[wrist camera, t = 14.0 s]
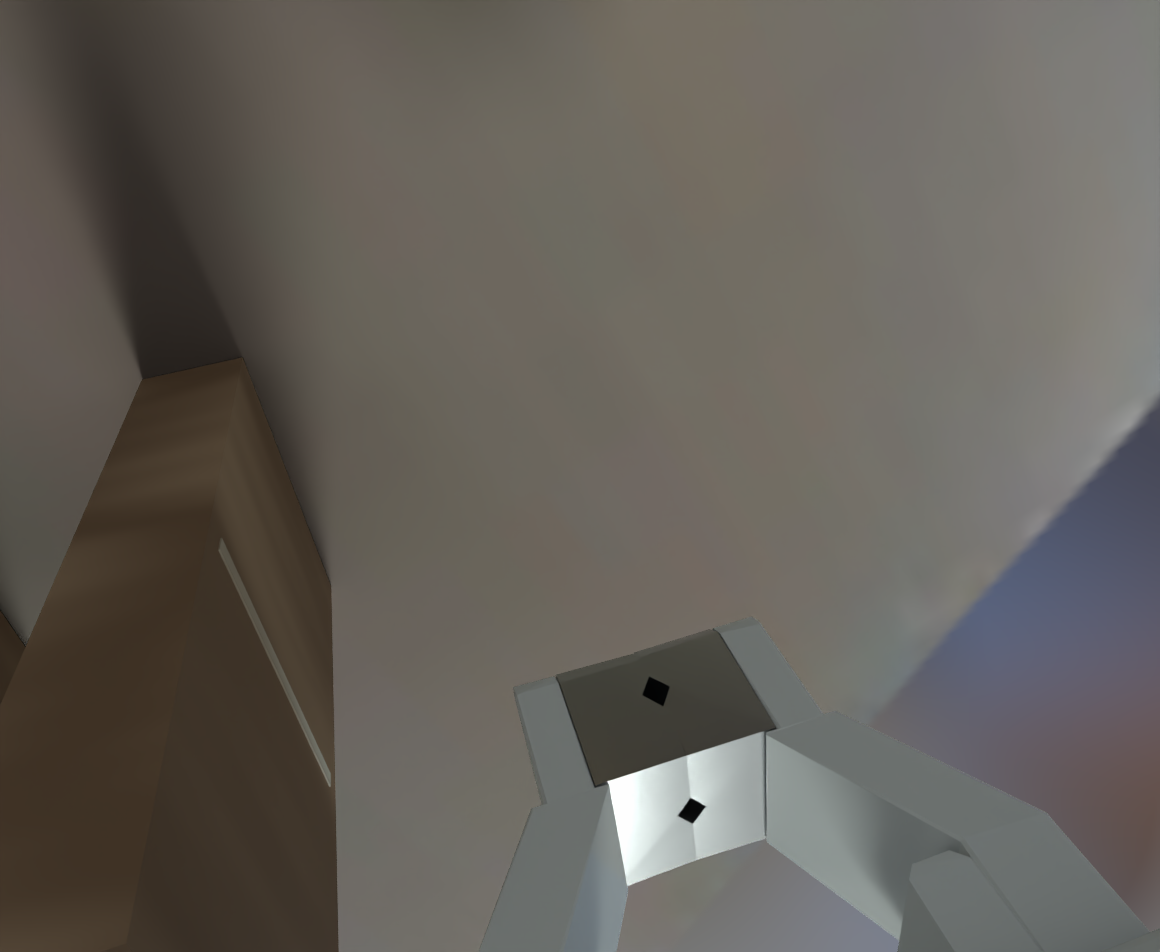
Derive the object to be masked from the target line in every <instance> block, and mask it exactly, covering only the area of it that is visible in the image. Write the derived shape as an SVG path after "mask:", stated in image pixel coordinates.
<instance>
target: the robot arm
mask: <svg viewBox="0 0 1160 952" xmlns="http://www.w3.org/2000/svg"><path fill="white" fill-rule="evenodd" d="M513 689H514V696H515V701H516V705H517V709H518V713H519V717H520V721H521V725H522V729H523V733H524V737H525V741H526V745H527V749H528V753H529V757H530V761H531V765H532V769H533V773H534V777H535V781H536V785H537V789H538V793H539V797H540V800H541V804H542V805H540V806H537V807H535V808H532V809H531V811H530V814H529V816H528V819H527V822H526V825H525V827H524V830H523V833H522V835H521V838H520V841H519V843H518V846H517V849H516V852H515V854H514V857H513V860H512V862H511V865H510V868H509V871H508V873H507V876H506V879H505V881H504V884H503V887H502V890H501V892H500V895H499V898H498V900H497V903H496V906H495V908H494V911H493V914H492V917H491V919H490V922H489V925H488V927H487V930H486V933H485V936H484V938H483V941H482V944H481V946H480V949H479V952H616V951H617V945H618V940H619V935H620V930H621V925H622V920H623V915H624V910H625V905H626V900H627V895H628V887H627V886H628V885H631V884H634V883H636V882H639V881H642V880H644V879H647V878H650V877H652V876H655V875H658V874H660V873H663V872H666V871H668V870H671V869H674V868H676V867H679V866H682V865H684V864H687V863H690V862H692V861H695V860H698V859H701V858H704V857H708V856H711V855H714V854H717V853H720V852H724V851H727V850H730V849H733V848H736V847H740V846H743V845H746V844H749V843H752V842H756V841H759V840H762V839H765V838H767V842H768V843H769V844H770V845H772V846H773V847H774V848H776V849H777V850H778V851H780V852H781V853H782V854H784V855H785V856H786V857H788V858H789V859H790V860H792V861H793V862H794V863H796V864H797V865H798V866H800V867H801V868H802V869H804V870H805V871H806V872H808V873H809V874H810V875H812V876H813V877H814V878H816V879H817V880H818V881H820V882H821V883H822V884H824V885H825V886H826V887H828V888H829V889H830V890H832V891H833V892H834V893H836V894H837V895H838V896H840V897H841V898H842V899H844V900H845V901H846V902H848V903H849V904H851V905H852V906H853V907H855V908H856V909H857V910H859V911H860V912H861V913H863V914H864V915H865V916H867V917H868V918H869V919H871V920H872V921H873V922H875V923H876V924H877V925H879V926H880V927H881V928H883V929H884V930H885V931H887V932H888V933H889V934H891V935H892V936H893V937H895V938H896V939H897V940H899V946H898V951H897V952H1160V929H1157V930H1154V931H1152V932H1149V930H1148V929H1147V928H1146V927H1145V925H1143V923H1142V922H1141V921H1140V920H1139V919H1138V918H1137V916H1136V915H1135V914H1134V913H1133V912H1132V911H1131V909H1130V908H1129V907H1128V906H1127V905H1126V904H1125V902H1124V901H1123V900H1122V899H1121V898H1120V897H1119V896H1118V894H1117V893H1116V892H1115V891H1114V890H1113V889H1112V888H1111V886H1110V885H1109V884H1108V883H1107V882H1106V881H1105V880H1104V878H1103V877H1102V876H1101V875H1100V874H1099V873H1098V871H1097V870H1096V869H1095V868H1094V867H1093V866H1092V865H1091V863H1090V862H1089V861H1088V860H1087V859H1086V858H1085V857H1084V856H1083V854H1082V853H1081V852H1080V851H1079V850H1078V849H1077V848H1076V846H1075V845H1074V844H1073V843H1072V842H1071V841H1070V839H1069V838H1068V837H1067V836H1066V835H1065V834H1064V832H1063V831H1062V830H1061V829H1060V828H1059V827H1058V826H1057V824H1056V823H1055V822H1054V821H1053V820H1052V819H1051V818H1050V817H1049V815H1048V814H1047V813H1046V812H1044V811H1042V810H1040V809H1038V808H1036V807H1034V806H1031V805H1029V804H1027V803H1025V802H1023V801H1021V800H1019V799H1017V798H1015V797H1013V796H1010V795H1009V794H1007V793H1005V792H1003V791H1001V790H998V789H996V788H994V787H992V786H990V785H988V784H986V783H984V782H982V781H980V780H978V779H976V778H974V777H972V776H970V775H968V774H966V773H963V772H961V771H959V770H957V769H955V768H953V767H951V766H949V765H947V764H945V763H943V762H941V761H939V760H937V759H935V758H932V757H931V756H928V755H926V754H924V753H922V752H920V751H918V750H916V749H914V748H912V747H910V746H908V745H906V744H904V743H902V742H900V741H898V740H895V739H893V738H891V737H889V736H887V735H885V734H883V733H881V732H879V731H877V730H875V729H873V728H871V727H869V726H867V725H865V724H862V723H860V722H858V721H856V720H854V719H852V718H850V717H848V716H846V715H844V714H842V713H840V712H838V711H832V712H829V713H825V714H823V712H822V711H821V709H820V708H819V706H818V705H817V704H816V702H815V701H814V699H813V698H812V696H811V695H810V693H809V692H808V691H807V689H806V688H805V686H804V685H803V683H802V682H801V681H800V679H799V678H798V676H797V675H796V673H795V672H794V671H793V669H792V668H791V666H790V665H789V663H788V662H787V660H786V659H785V658H784V656H783V655H782V653H781V652H780V650H779V649H778V648H777V646H776V645H775V643H774V642H773V640H772V639H771V637H770V636H769V635H768V633H767V632H766V630H765V629H764V627H763V626H762V625H761V623H760V622H759V621H758V620H757V619H755V618H753V617H748V618H745V619H742V620H739V621H735V622H732V623H729V624H726V625H722V626H719V627H716V628H713V629H712V630H710V629H709V630H706V631H702V632H699V633H696V634H693V635H689V636H686V637H683V638H680V639H677V640H673V641H670V642H667V643H664V644H660V645H657V646H654V647H651V648H648V649H644V650H641V651H638V652H635V653H634V654H631V655H627V656H623V657H620V658H616V659H612V660H609V661H605V662H601V663H597V664H594V665H590V666H586V667H583V668H579V669H575V670H572V671H568V672H564V673H561V674H557V675H556V678H555V677H554V676H553V677H549V678H545V679H542V680H538V681H534V682H531V683H527V684H523V685H520V686H516V687H513Z"/></svg>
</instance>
